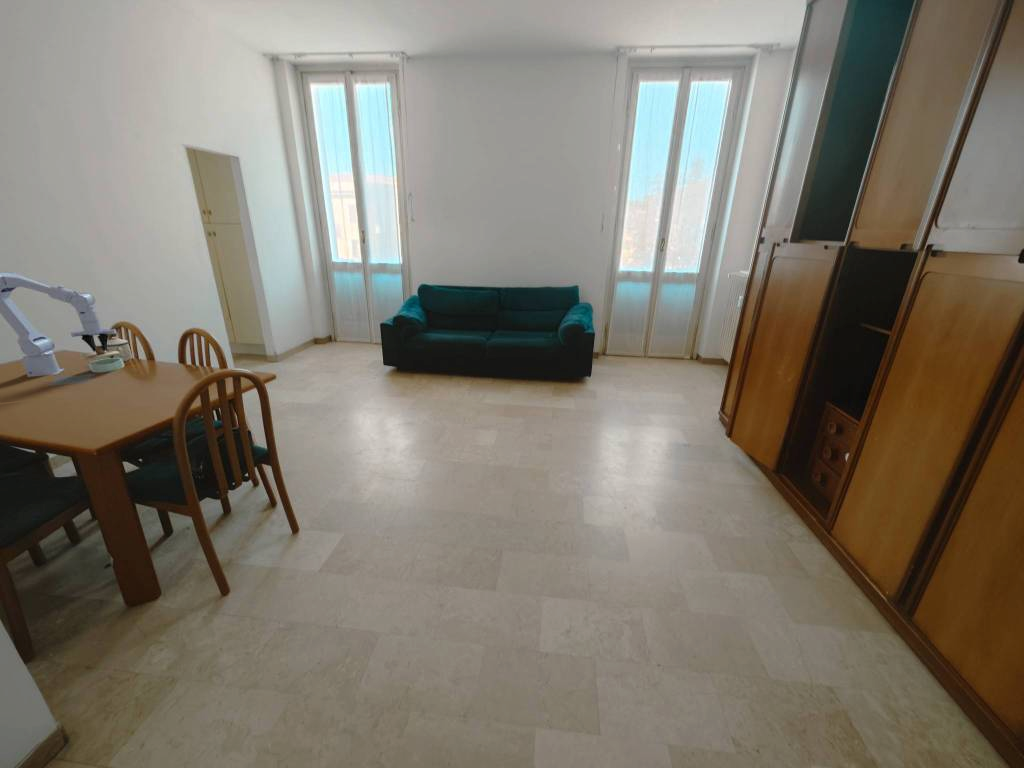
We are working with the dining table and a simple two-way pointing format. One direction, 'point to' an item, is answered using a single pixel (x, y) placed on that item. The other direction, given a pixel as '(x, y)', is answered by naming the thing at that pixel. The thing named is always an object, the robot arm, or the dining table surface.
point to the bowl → (106, 365)
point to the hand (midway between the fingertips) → (100, 350)
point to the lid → (100, 353)
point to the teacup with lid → (119, 348)
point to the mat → (71, 379)
